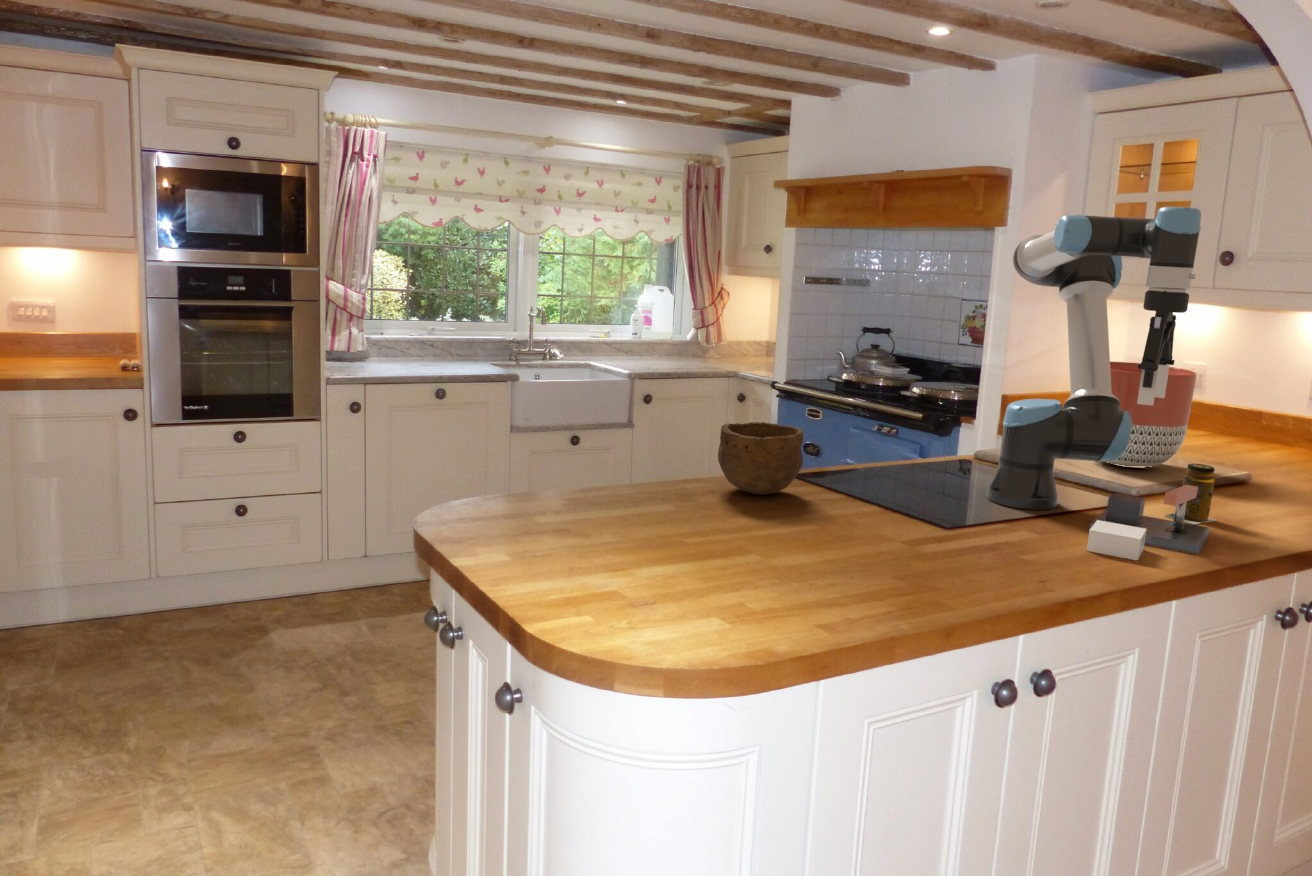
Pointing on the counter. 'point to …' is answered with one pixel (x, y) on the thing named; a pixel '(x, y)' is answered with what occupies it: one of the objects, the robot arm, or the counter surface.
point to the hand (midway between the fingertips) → (1151, 401)
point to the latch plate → (1153, 525)
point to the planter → (1153, 414)
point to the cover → (1116, 540)
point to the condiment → (1198, 493)
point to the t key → (1180, 503)
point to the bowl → (760, 456)
